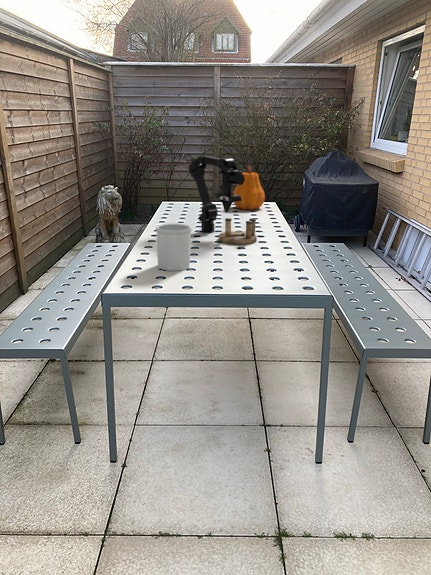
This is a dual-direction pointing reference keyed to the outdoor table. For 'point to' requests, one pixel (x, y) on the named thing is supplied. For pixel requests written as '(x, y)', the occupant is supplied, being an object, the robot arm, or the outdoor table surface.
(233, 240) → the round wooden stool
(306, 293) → the outdoor table surface
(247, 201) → the decorative pumpkin
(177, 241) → the utensil holder
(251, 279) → the outdoor table surface
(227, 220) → the hinged leg
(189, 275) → the outdoor table surface
